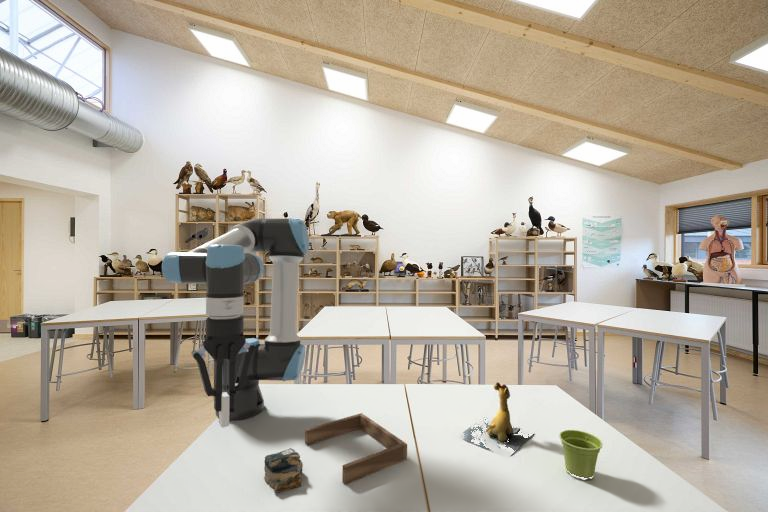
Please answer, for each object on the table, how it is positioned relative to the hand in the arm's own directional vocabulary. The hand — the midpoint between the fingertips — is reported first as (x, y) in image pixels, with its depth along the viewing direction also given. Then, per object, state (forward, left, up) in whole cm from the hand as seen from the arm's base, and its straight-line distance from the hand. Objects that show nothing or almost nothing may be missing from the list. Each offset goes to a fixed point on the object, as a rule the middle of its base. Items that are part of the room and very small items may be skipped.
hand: (223, 424), depth 81 cm
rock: (+1, +13, -17) cm, 21 cm away
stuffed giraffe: (+16, +73, -17) cm, 76 cm away
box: (0, +33, -16) cm, 37 cm away
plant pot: (+40, +74, -16) cm, 86 cm away
